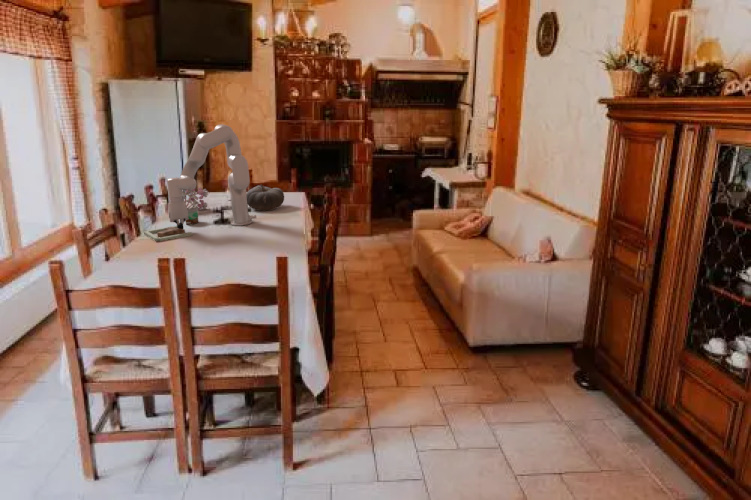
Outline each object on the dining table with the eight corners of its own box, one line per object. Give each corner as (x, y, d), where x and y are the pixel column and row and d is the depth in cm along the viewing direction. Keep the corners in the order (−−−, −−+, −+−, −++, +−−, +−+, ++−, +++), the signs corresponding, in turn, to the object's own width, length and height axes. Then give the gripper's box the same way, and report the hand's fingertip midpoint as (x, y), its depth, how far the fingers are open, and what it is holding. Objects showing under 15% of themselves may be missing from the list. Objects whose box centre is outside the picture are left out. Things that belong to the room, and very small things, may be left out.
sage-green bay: (178, 227, 329) (178, 225, 328) (192, 235, 311) (192, 232, 311) (143, 234, 317) (143, 231, 317) (156, 242, 300) (156, 239, 299)
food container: (194, 225, 334) (192, 209, 331) (184, 225, 335) (182, 209, 332) (204, 220, 345) (202, 205, 342) (195, 220, 346) (193, 204, 343)
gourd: (254, 200, 388) (254, 177, 381) (288, 206, 386) (289, 183, 379) (240, 212, 365) (241, 187, 358) (276, 218, 363) (278, 193, 356)
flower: (202, 213, 359) (207, 177, 363) (168, 210, 359) (173, 174, 362) (210, 219, 378) (215, 185, 382) (178, 216, 378) (183, 182, 382)
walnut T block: (171, 231, 321) (170, 226, 320) (185, 234, 314) (184, 229, 313) (153, 236, 311) (152, 231, 310) (167, 239, 304) (166, 234, 303)
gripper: (187, 196, 320) (191, 227, 326) (161, 200, 312) (165, 231, 317) (191, 198, 315) (195, 229, 320) (165, 202, 306) (170, 234, 311)
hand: (180, 230), depth 318 cm, fingers closed
